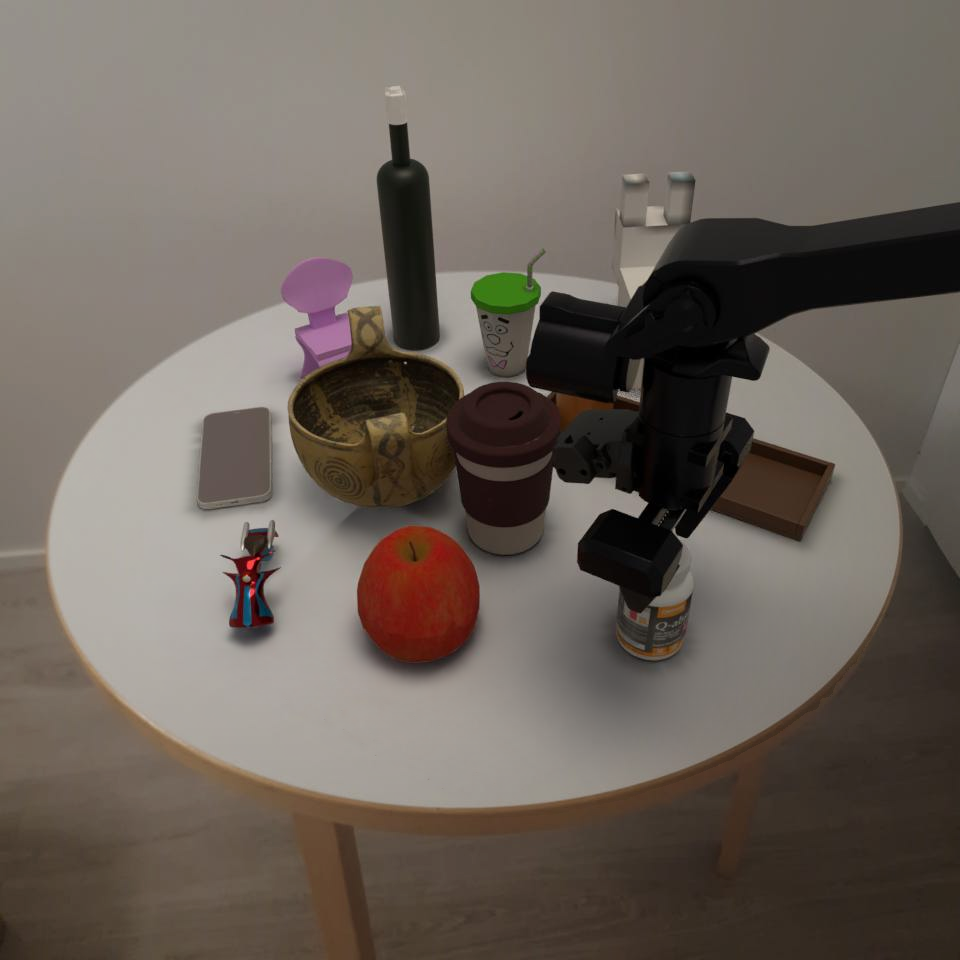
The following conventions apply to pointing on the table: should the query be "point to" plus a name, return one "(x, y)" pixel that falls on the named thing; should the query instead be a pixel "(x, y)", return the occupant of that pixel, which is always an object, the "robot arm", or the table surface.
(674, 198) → the toy llama
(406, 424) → the ceramic bowl
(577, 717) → the table surface
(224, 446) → the smartphone
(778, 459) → the tray
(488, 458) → the coffee cup
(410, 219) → the wine bottle
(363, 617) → the apple
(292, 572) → the table surface
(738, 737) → the table surface
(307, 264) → the toy chair
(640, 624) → the pill bottle
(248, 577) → the hoverbike
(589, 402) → the amber bottle far
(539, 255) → the cup
